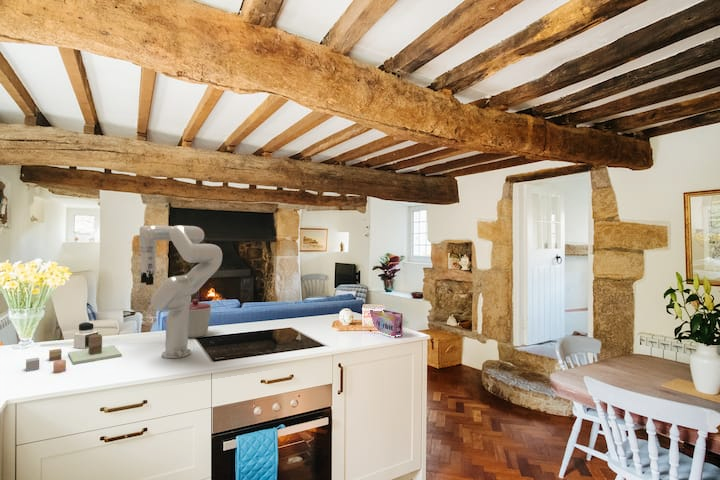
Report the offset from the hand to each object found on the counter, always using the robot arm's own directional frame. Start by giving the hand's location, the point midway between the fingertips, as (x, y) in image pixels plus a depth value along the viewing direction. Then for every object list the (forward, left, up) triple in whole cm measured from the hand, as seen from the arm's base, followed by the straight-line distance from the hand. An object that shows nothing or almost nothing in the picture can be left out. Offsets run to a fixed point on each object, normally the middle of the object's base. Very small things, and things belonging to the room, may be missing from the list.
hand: (146, 283), depth 186 cm
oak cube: (+5, +35, -32) cm, 48 cm away
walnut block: (0, +21, -31) cm, 38 cm away
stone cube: (-5, +43, -32) cm, 54 cm away
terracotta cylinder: (-15, +35, -32) cm, 50 cm away
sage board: (0, +21, -32) cm, 39 cm away
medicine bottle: (+20, +22, -32) cm, 44 cm away
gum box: (-57, -117, -33) cm, 134 cm away
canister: (+8, -27, -32) cm, 43 cm away
